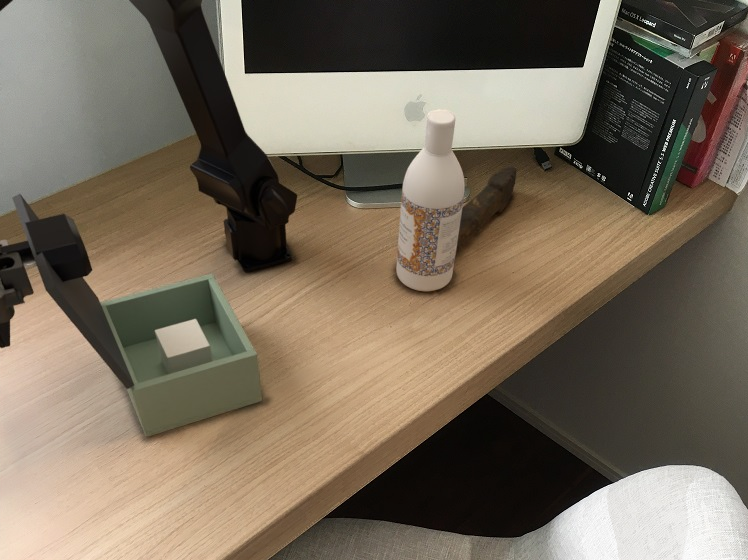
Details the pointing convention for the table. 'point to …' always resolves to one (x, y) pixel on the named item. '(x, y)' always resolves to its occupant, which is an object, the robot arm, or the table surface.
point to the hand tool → (486, 203)
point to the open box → (190, 386)
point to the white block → (183, 346)
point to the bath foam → (431, 209)
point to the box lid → (78, 304)
